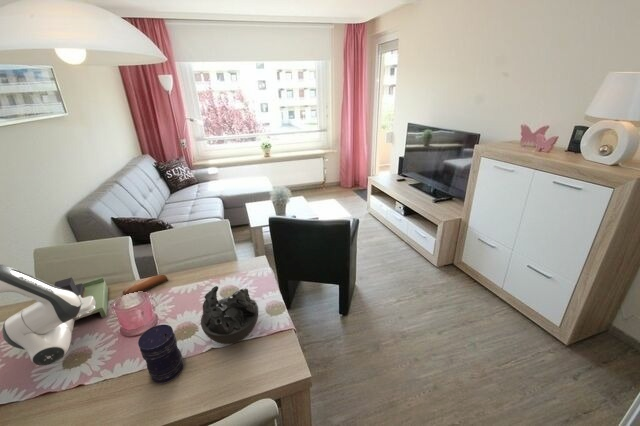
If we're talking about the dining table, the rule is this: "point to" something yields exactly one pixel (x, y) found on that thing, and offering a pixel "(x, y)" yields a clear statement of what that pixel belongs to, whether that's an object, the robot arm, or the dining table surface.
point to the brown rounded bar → (145, 284)
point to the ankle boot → (71, 286)
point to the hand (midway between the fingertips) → (63, 301)
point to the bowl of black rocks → (229, 316)
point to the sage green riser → (97, 294)
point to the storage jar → (161, 353)
